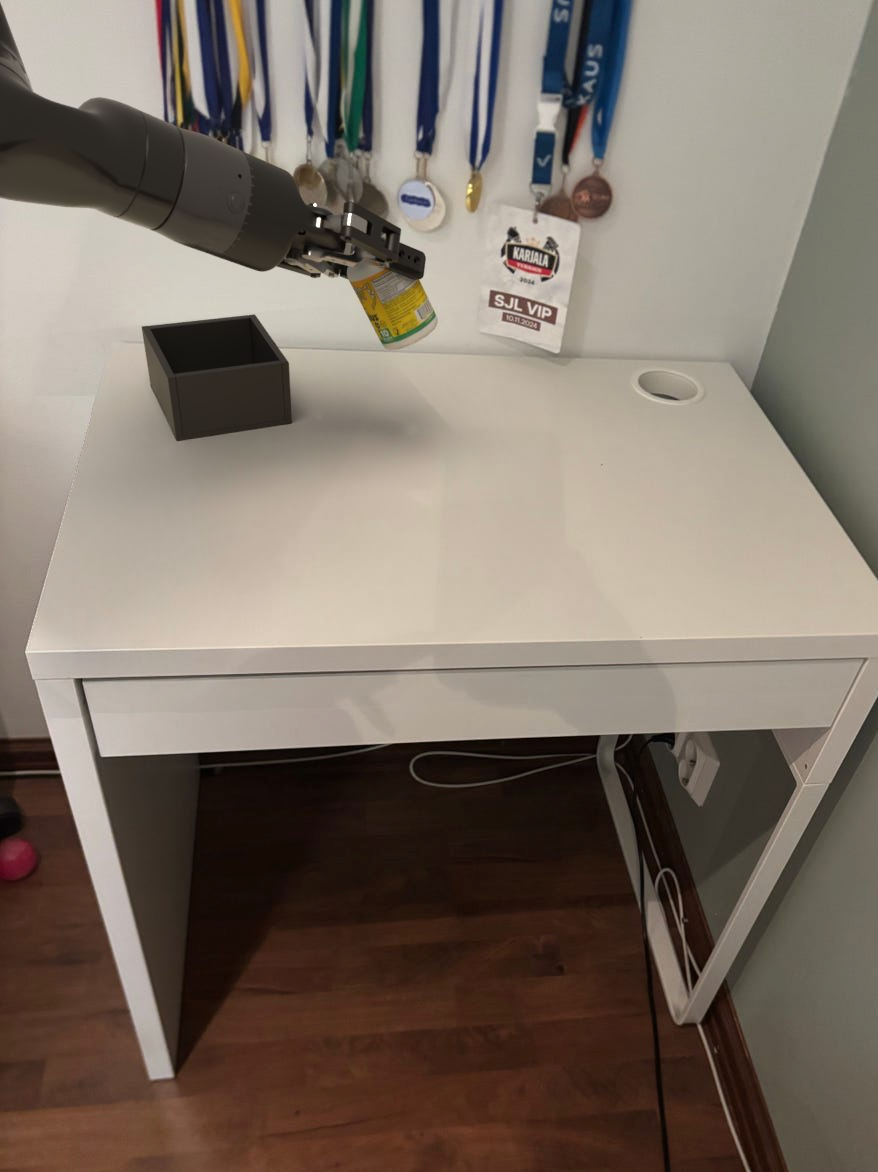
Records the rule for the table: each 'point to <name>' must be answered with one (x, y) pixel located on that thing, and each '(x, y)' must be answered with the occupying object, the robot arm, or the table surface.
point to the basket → (217, 376)
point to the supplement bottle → (392, 304)
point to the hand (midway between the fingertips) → (398, 271)
